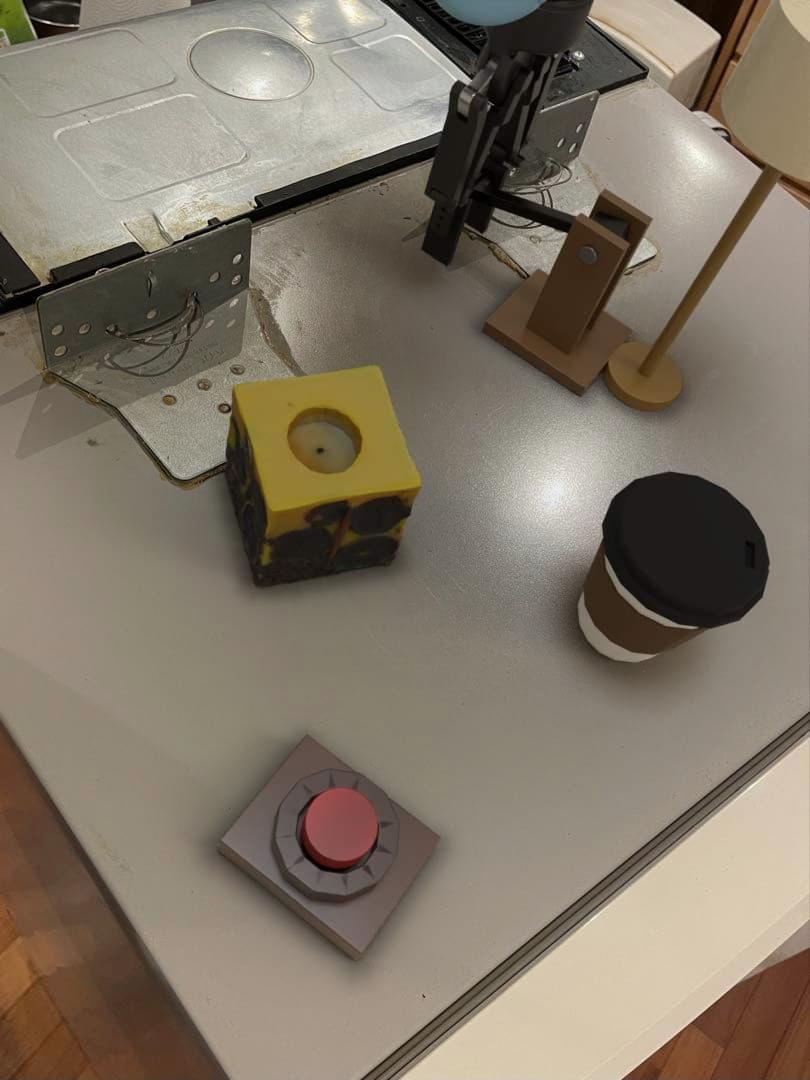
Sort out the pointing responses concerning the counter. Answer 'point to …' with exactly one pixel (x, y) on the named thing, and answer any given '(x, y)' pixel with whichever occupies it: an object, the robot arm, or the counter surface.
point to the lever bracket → (573, 300)
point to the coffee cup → (670, 566)
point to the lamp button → (339, 828)
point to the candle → (318, 474)
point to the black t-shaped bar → (537, 208)
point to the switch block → (302, 883)
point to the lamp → (786, 146)
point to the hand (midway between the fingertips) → (454, 239)
